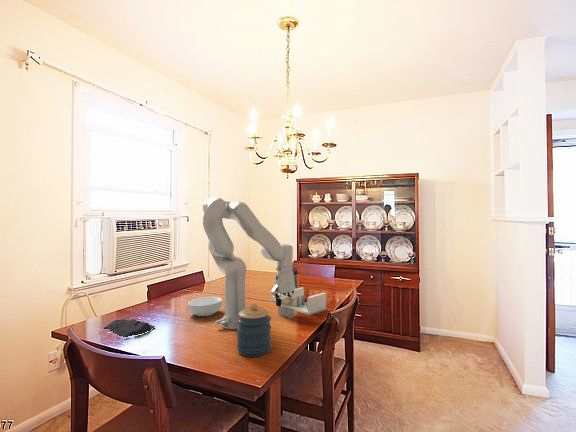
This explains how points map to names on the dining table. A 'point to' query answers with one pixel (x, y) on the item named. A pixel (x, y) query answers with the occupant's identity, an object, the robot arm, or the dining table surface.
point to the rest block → (286, 311)
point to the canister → (254, 331)
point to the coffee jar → (294, 278)
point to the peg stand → (308, 302)
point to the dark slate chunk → (129, 327)
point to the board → (285, 300)
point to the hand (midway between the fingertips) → (283, 304)
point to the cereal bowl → (205, 306)
